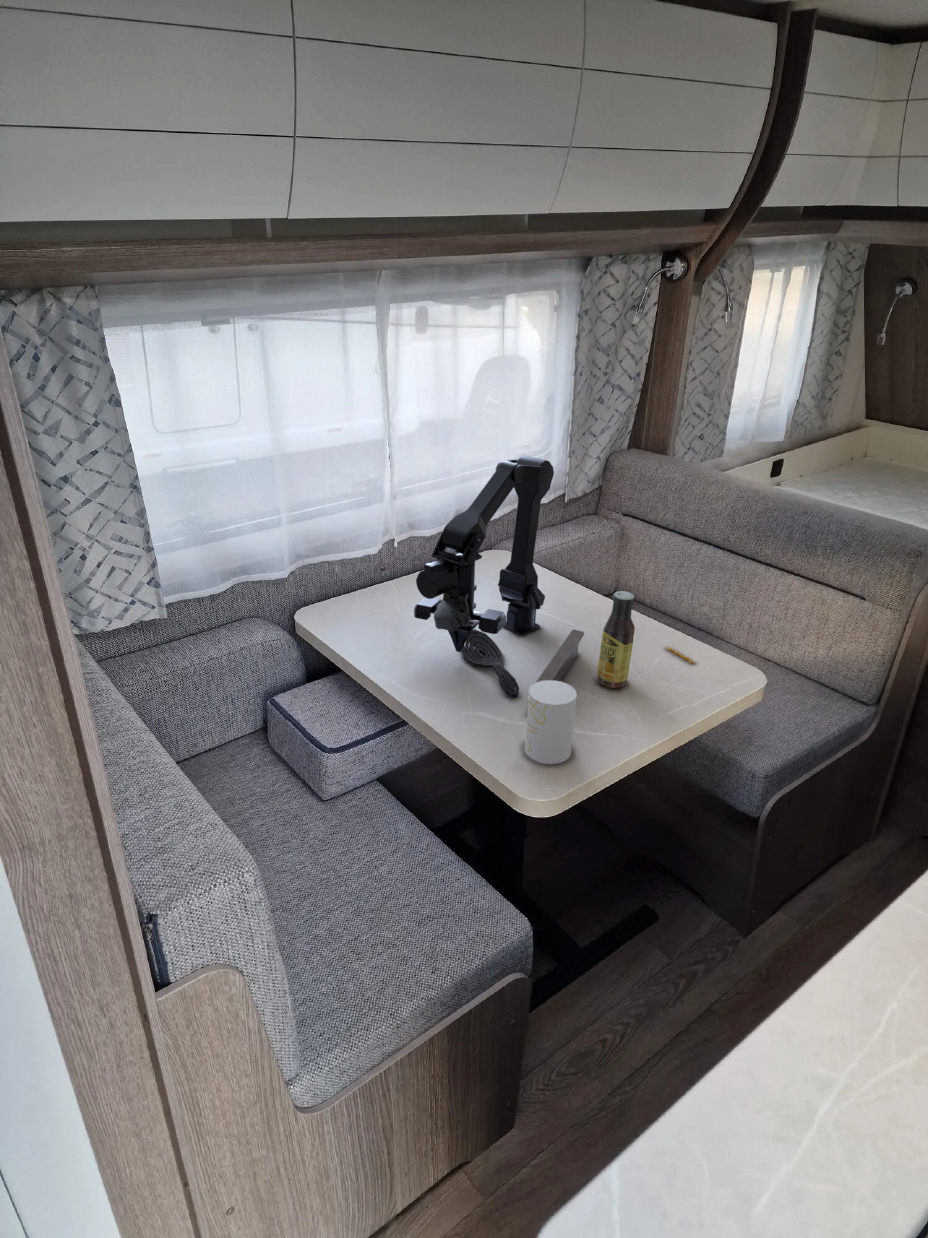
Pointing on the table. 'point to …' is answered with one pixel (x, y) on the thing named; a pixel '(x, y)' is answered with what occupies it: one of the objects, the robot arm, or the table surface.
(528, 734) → the cup
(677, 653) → the golden brown bumpy stick
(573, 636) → the rail
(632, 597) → the sauce bottle
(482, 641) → the hairbrush
